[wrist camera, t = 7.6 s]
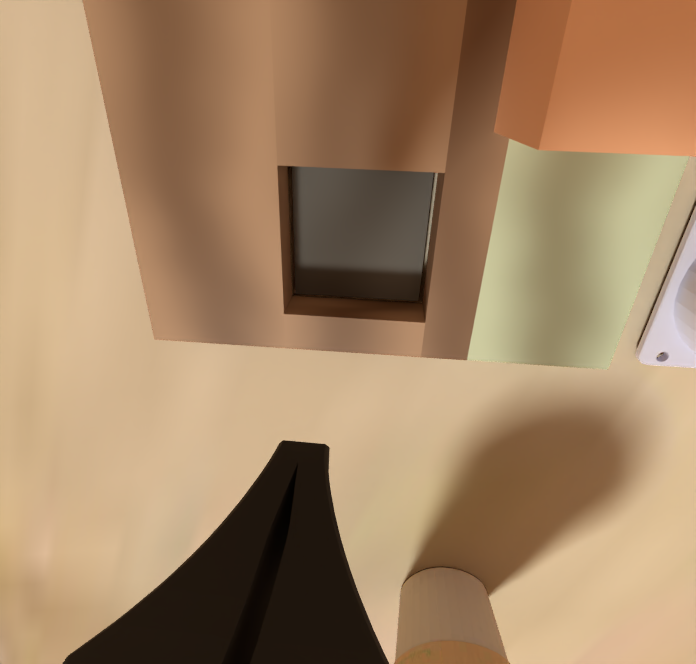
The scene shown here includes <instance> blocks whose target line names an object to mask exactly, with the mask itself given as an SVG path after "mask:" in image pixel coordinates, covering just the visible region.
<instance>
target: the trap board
mask: <svg viewBox="0 0 696 664" xmlns="http://www.w3.org/2000/svg"><path fill="white" fill-rule="evenodd" d="M516 2H517V0H83V4H84V9H85V14H86V18H87V23H88V28H89V33H90V37H91V42H92V47H93V51H94V56H95V61H96V66H97V70H98V75H99V80H100V85H101V89H102V94H103V99H104V103H105V108H106V113H107V118H108V122H109V127H110V132H111V136H112V141H113V146H114V151H115V155H116V160H117V165H118V169H119V174H120V179H121V184H122V188H123V193H124V198H125V203H126V207H127V212H128V217H129V221H130V226H131V231H132V236H133V240H134V245H135V250H136V254H137V259H138V264H139V269H140V273H141V278H142V283H143V287H144V292H145V297H146V302H147V306H148V311H149V316H150V321H151V325H152V330H153V335H154V339H156V340H171V341H186V342H201V343H216V344H231V345H246V346H261V347H276V348H291V349H306V350H321V351H336V352H351V353H366V354H381V355H396V356H411V357H426V358H441V359H456V360H472V361H487V362H502V363H517V364H532V365H547V366H562V367H577V368H592V369H607V370H608V369H609V366H610V364H611V361H612V358H613V356H614V353H615V351H616V348H617V345H618V343H619V340H620V337H621V335H622V332H623V330H624V327H625V324H626V322H627V319H628V316H629V314H630V311H631V309H632V306H633V303H634V301H635V298H636V296H637V293H638V290H639V288H640V285H641V282H642V280H643V277H644V275H645V272H646V269H647V267H648V264H649V261H650V259H651V256H652V254H653V251H654V248H655V246H656V243H657V241H658V238H659V235H660V233H661V230H662V227H663V225H664V222H665V220H666V217H667V214H668V212H669V209H670V206H671V204H672V201H673V199H674V196H675V193H676V191H677V188H678V186H679V183H680V180H681V178H682V175H683V172H684V170H685V167H686V165H687V162H688V159H689V157H690V156H670V155H645V154H620V153H595V152H570V151H545V150H537V149H534V148H532V147H529V146H527V145H524V144H522V143H519V142H517V141H514V140H512V139H510V138H507V137H505V136H502V135H500V134H497V133H495V132H494V128H495V123H496V117H497V111H498V105H499V100H500V94H501V88H502V82H503V77H504V71H505V65H506V59H507V54H508V48H509V42H510V36H511V31H512V25H513V19H514V13H515V8H516ZM288 166H292V188H293V222H294V255H295V288H296V294H306V295H323V296H340V297H357V298H373V299H390V300H407V301H419V292H420V284H421V276H422V267H423V259H424V250H425V242H426V234H427V225H428V217H429V208H430V200H431V192H432V183H433V175H434V172H435V173H438V177H437V185H436V193H435V201H434V209H433V217H432V225H431V233H430V242H429V250H428V258H427V266H426V274H425V282H424V290H423V298H422V303H419V302H402V301H386V300H369V299H352V298H336V297H319V296H303V295H293V289H292V259H291V229H290V200H289V170H288Z"/></svg>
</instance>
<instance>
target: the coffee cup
mask: <svg viewBox="0 0 696 664" xmlns="http://www.w3.org/2000/svg"><path fill="white" fill-rule="evenodd" d="M394 664H510V663H509V662H508V659H507V656H506V653H505V649H504V646H503V643H502V640H501V636H500V633H499V630H498V627H497V623H496V620H495V617H494V614H493V610H492V607H491V604H490V601H489V597H488V594H487V591H486V589H485V587H484V585H483V584H482V583H481V581H480V580H478V579H477V578H476V577H474V576H472V575H471V574H469V573H467V572H464V571H461V570H457V569H453V568H446V567H435V568H429V569H425V570H422V571H420V572H418V573H416V574H414V575H413V576H411V577H410V578H409V579H408V580H407V581H406V582H405V583H404V585H403V586H402V588H401V593H400V605H399V618H398V631H397V644H396V657H395V663H394Z"/></svg>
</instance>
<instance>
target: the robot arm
mask: <svg viewBox="0 0 696 664" xmlns="http://www.w3.org/2000/svg"><path fill="white" fill-rule="evenodd" d="M661 352H664V353H663V355H661V356H660V357H657V355H658V354H659V353H661ZM636 358H637V359H638V360H639V361H640V362H641V363H642V364H645V365H657V366H672V367H688V368H696V206H695V209H694V211H693V214H692V216H691V218H690V221H689V223H688V226H687V228H686V231H685V233H684V236H683V238H682V240H681V243H680V245H679V248H678V250H677V253H676V255H675V258H674V260H673V262H672V265H671V267H670V270H669V272H668V275H667V277H666V280H665V282H664V284H663V287H662V289H661V292H660V294H659V297H658V299H657V302H656V304H655V306H654V309H653V311H652V314H651V316H650V319H649V321H648V324H647V326H646V328H645V331H644V333H643V336H642V338H641V341H640V343H639V346H638V348H637V350H636ZM328 470H329V447H328V446H327V445H326V444H317V443H306V442H295V441H284V440H283V441H282V442H281V443H279V445H278V447H277V449H276V451H275V452H274V454H273V456H272V457H271V459H270V460H269V462H268V463H267V465H266V466H265V468H264V469H263V471H262V472H261V474H260V475H259V477H258V478H257V479H256V481H255V482H254V483H253V485H252V486H251V487H250V489H249V490H248V491H247V493H246V494H245V496H244V497H243V498H242V499H241V501H240V502H239V503H238V504H237V506H236V507H235V508H234V509H233V510H232V512H231V513H230V514H229V515H228V516H227V518H226V519H225V520H224V521H223V522H222V524H221V525H220V526H219V527H218V528H217V529H216V530H215V531H214V532H213V534H212V535H211V536H210V537H209V538H208V539H207V540H206V541H205V542H204V543H203V544H202V545H201V546H200V547H199V548H198V549H197V550H196V551H195V552H194V553H193V554H192V555H191V556H190V557H189V558H188V559H187V560H186V561H185V562H184V563H183V564H182V565H181V566H180V567H179V568H178V569H177V570H176V571H175V572H174V573H172V574H171V575H170V576H169V577H168V578H167V579H166V580H165V581H164V582H162V583H161V584H160V585H159V586H158V587H157V588H156V589H154V590H153V591H152V592H151V593H150V594H148V595H147V596H146V597H145V598H143V599H142V600H141V601H140V602H139V603H137V604H136V605H135V606H134V607H133V608H131V609H130V610H129V611H128V612H127V613H125V614H124V615H123V616H122V617H120V618H119V619H118V620H116V621H115V622H114V623H112V624H111V625H110V626H108V627H107V628H106V629H104V630H103V631H102V632H100V633H99V634H97V635H96V636H95V637H93V638H92V639H91V640H89V641H88V642H86V643H85V644H84V645H82V646H81V647H80V648H78V649H77V650H75V651H74V652H73V653H71V654H70V655H69V656H68V657H67V658H66V659H65V661H64V662H63V664H389V662H388V660H387V658H386V656H385V654H384V652H383V650H382V648H381V645H380V643H379V641H378V639H377V637H376V634H375V632H374V630H373V628H372V625H371V623H370V620H369V618H368V615H367V613H366V611H365V608H364V606H363V603H362V601H361V598H360V596H359V593H358V591H357V588H356V585H355V582H354V579H353V576H352V574H351V571H350V568H349V565H348V561H347V558H346V555H345V552H344V548H343V545H342V541H341V538H340V534H339V530H338V526H337V522H336V517H335V513H334V507H333V502H332V496H331V490H330V483H329V473H328Z"/></svg>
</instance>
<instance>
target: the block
mask: <svg viewBox="0 0 696 664" xmlns="http://www.w3.org/2000/svg"><path fill="white" fill-rule="evenodd" d="M494 132H495V133H497V134H500V135H502V136H505V137H507V138H510V139H512V140H514V141H517V142H519V143H522V144H524V145H527V146H529V147H532V148H534V149H537V150H545V151H570V152H595V153H620V154H645V155H670V156H695V157H696V0H517V2H516V8H515V13H514V19H513V25H512V31H511V36H510V42H509V48H508V54H507V59H506V65H505V71H504V77H503V82H502V88H501V94H500V100H499V105H498V111H497V117H496V123H495V128H494Z"/></svg>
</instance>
